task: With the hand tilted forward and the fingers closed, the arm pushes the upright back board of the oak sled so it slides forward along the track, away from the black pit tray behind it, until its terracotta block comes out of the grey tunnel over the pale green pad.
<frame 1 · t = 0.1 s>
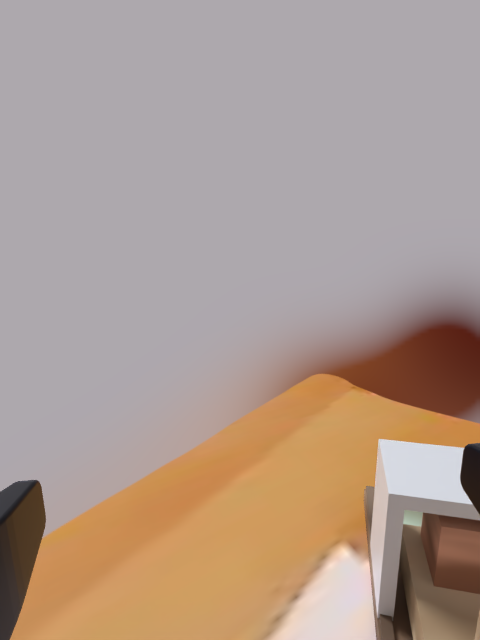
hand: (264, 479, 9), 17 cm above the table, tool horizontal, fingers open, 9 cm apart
tunnel: (451, 605, 24), resting on track
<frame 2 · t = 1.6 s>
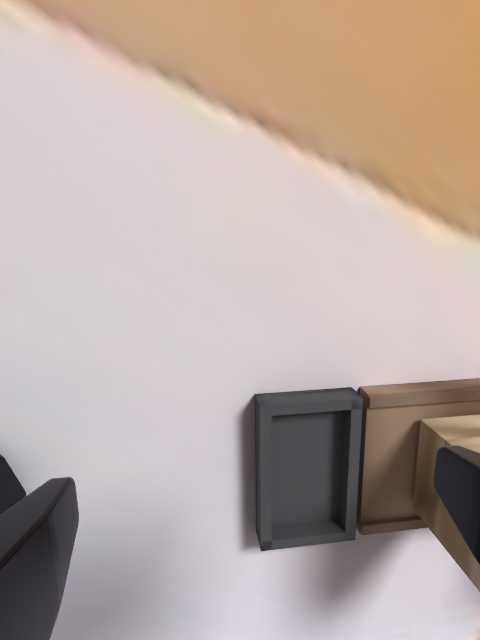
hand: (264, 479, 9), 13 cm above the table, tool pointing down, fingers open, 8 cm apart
pit tray: (302, 461, 24), on the table
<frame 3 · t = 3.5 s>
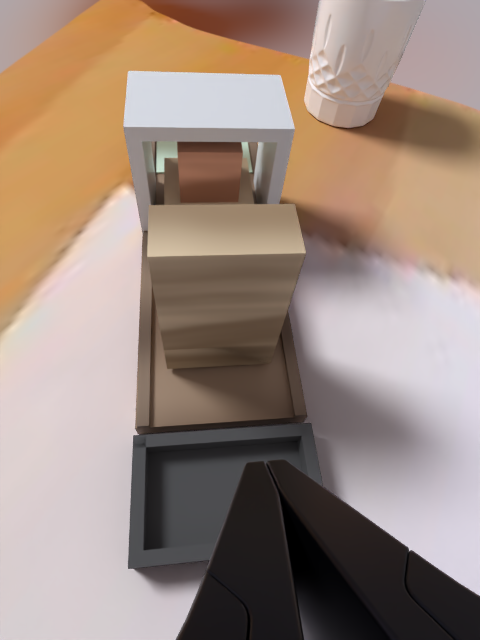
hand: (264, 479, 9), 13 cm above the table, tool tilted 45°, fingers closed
white cup: (338, 109, 39), on the table
pit tray: (227, 493, 20), on the table
track: (209, 254, 28), on the table
tunnel: (207, 216, 30), resting on track
sled: (213, 207, 22), point 6 cm above the table, slide at 0.0 cm
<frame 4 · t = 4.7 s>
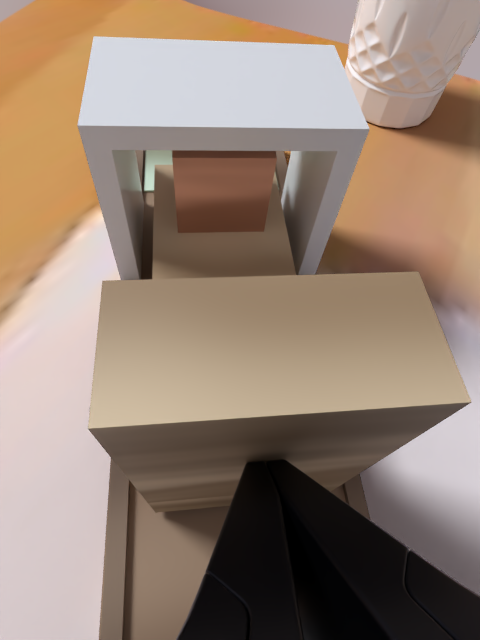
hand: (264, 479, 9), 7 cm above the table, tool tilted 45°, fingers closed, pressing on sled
white cup: (383, 104, 30), on the table
track: (221, 311, 19), on the table
tunnel: (216, 252, 21), resting on track
sled: (230, 247, 14), point 6 cm above the table, slide at 0.5 cm, touching gripper
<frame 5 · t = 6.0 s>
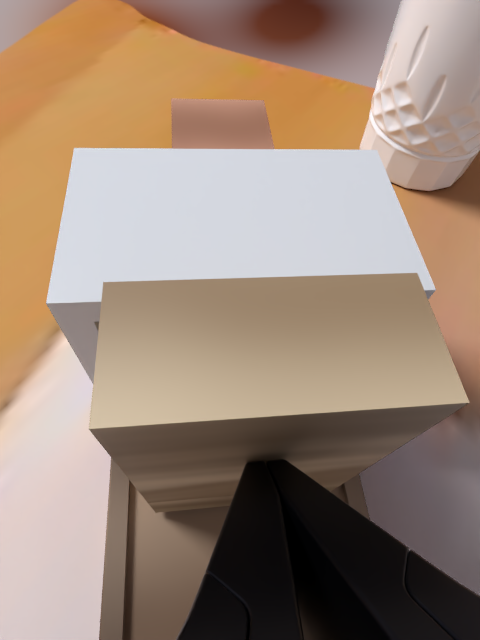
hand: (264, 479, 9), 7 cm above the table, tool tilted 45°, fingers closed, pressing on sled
white cup: (408, 159, 27), on the table
track: (232, 444, 16), on the table
tunnel: (225, 361, 18), resting on track
sled: (230, 248, 14), point 6 cm above the table, slide at 6.7 cm, touching gripper
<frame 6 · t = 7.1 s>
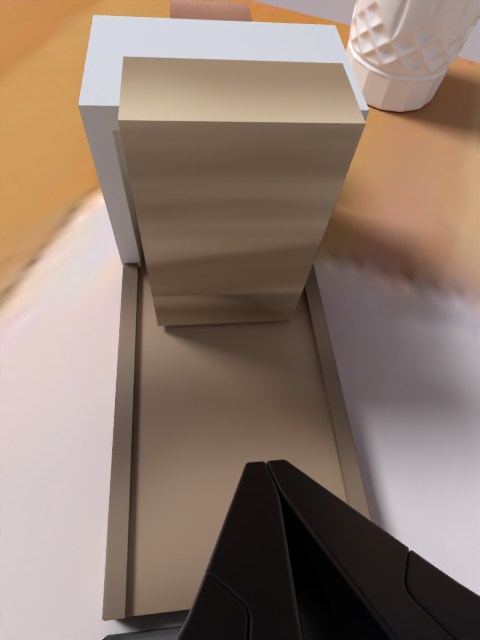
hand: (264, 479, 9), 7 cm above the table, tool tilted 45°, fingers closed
white cup: (384, 87, 30), on the table
track: (221, 294, 19), on the table
tunnel: (216, 236, 21), resting on track
sled: (218, 113, 17), point 6 cm above the table, slide at 6.7 cm
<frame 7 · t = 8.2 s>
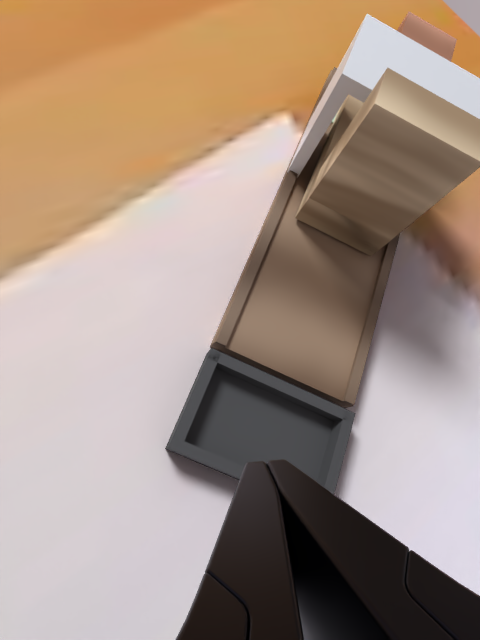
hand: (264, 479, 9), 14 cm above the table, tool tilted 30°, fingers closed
pit tray: (259, 431, 23), on the table
track: (333, 220, 28), on the table
tunnel: (347, 183, 30), resting on track
sled: (400, 107, 25), point 6 cm above the table, slide at 6.7 cm
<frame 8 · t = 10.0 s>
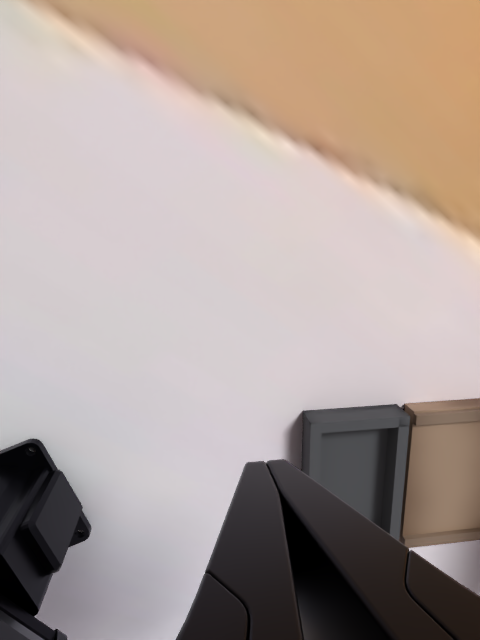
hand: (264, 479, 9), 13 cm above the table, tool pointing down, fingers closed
pit tray: (346, 476, 24), on the table
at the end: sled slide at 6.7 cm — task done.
